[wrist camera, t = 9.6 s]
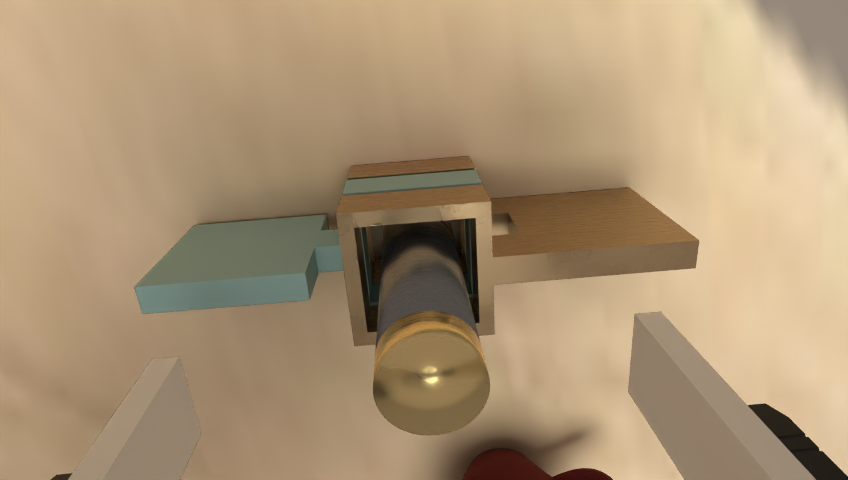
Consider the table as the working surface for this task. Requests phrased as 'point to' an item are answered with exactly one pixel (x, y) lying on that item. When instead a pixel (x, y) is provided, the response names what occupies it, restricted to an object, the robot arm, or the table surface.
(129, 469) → the robot arm
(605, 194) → the square hinge knuckle
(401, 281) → the pin
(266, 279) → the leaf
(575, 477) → the mug
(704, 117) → the table surface
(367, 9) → the table surface
